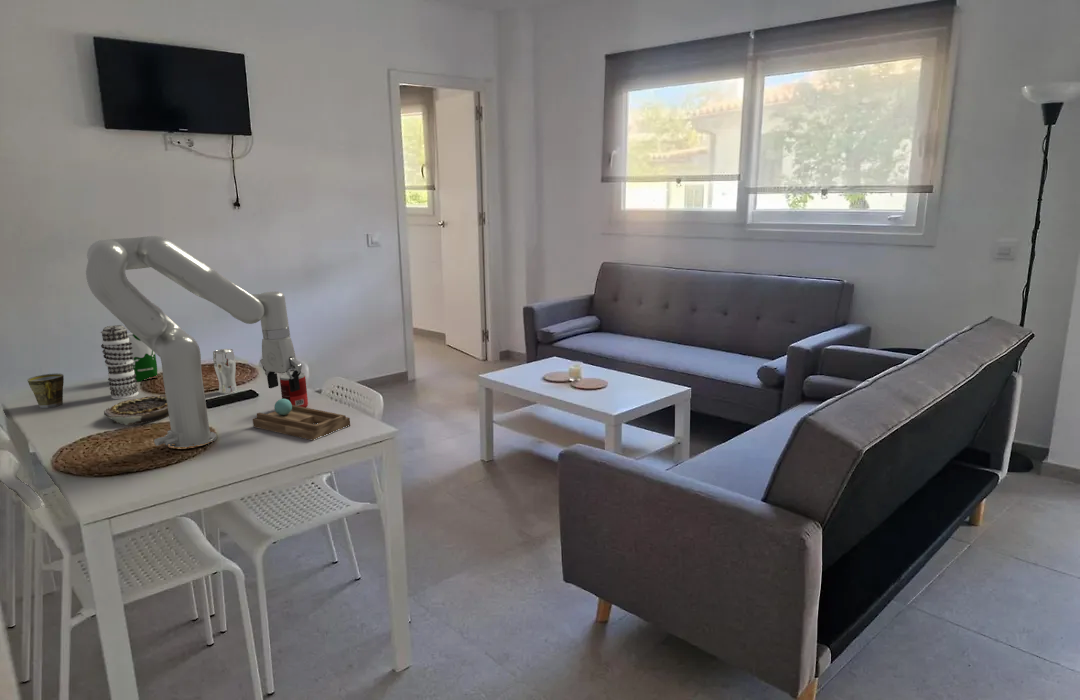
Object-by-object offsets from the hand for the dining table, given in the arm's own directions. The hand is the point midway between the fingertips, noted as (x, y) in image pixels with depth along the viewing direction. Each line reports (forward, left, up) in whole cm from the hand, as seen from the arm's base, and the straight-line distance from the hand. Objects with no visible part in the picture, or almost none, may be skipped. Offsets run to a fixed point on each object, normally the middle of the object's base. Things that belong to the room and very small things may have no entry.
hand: (284, 388), depth 205 cm
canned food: (+11, +10, -11) cm, 19 cm away
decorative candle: (-7, +78, -11) cm, 79 cm away
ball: (-1, +1, -6) cm, 6 cm away
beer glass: (+13, +48, -11) cm, 51 cm away
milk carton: (+10, +95, -11) cm, 96 cm away
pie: (-17, +48, -11) cm, 52 cm away
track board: (-1, -7, -11) cm, 13 cm away
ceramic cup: (-26, +88, -11) cm, 93 cm away
